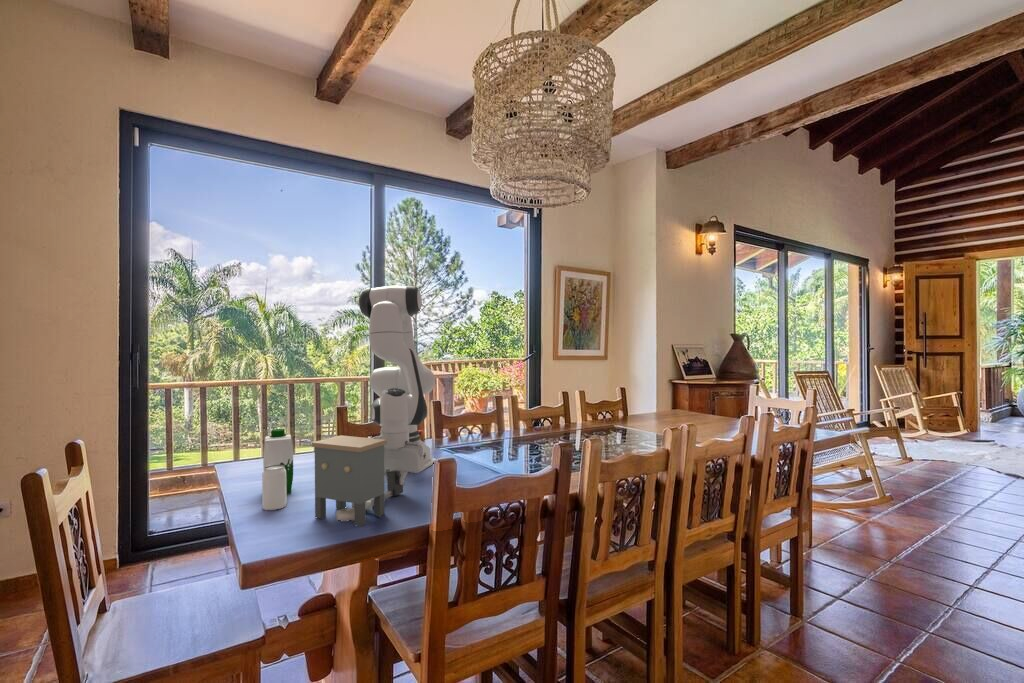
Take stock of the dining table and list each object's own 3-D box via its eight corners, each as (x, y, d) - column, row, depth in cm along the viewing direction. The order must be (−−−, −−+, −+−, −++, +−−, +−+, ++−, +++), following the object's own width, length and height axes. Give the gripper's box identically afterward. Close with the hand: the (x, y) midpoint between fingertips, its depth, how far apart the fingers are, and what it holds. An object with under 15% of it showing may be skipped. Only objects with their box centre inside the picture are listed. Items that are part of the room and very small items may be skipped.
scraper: (390, 490, 163) (390, 468, 163) (408, 492, 160) (408, 470, 160) (351, 507, 147) (351, 483, 147) (370, 510, 144) (370, 486, 144)
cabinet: (340, 506, 150) (340, 435, 150) (387, 514, 143) (386, 439, 143) (311, 518, 140) (311, 442, 139) (360, 527, 133) (359, 447, 133)
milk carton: (292, 486, 170) (292, 427, 170) (294, 494, 162) (293, 432, 161) (263, 490, 166) (263, 429, 166) (263, 498, 158) (262, 434, 158)
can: (264, 512, 145) (264, 471, 145) (260, 506, 150) (260, 466, 150) (288, 508, 149) (288, 467, 148) (284, 502, 154) (283, 463, 154)
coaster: (352, 513, 145) (352, 506, 145) (362, 517, 140) (362, 510, 141) (332, 518, 140) (332, 510, 141) (342, 522, 136) (342, 515, 136)
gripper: (428, 440, 158) (428, 484, 159) (375, 436, 167) (376, 477, 167) (416, 444, 153) (416, 490, 153) (363, 439, 161) (363, 482, 161)
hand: (395, 483), depth 160 cm, fingers closed on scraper, 3 cm apart
